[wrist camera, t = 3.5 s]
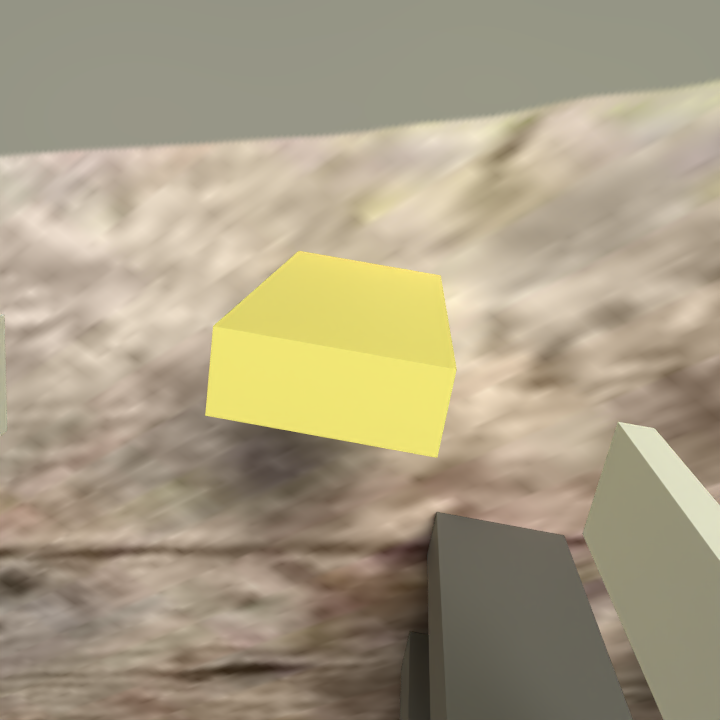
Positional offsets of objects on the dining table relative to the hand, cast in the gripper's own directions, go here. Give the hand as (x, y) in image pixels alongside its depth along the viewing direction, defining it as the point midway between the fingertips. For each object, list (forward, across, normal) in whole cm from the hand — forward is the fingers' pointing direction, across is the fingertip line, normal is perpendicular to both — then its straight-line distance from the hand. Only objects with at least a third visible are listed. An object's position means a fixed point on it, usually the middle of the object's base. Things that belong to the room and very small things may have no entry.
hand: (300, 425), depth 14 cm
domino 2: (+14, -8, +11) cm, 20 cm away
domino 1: (+14, 0, 0) cm, 14 cm away
